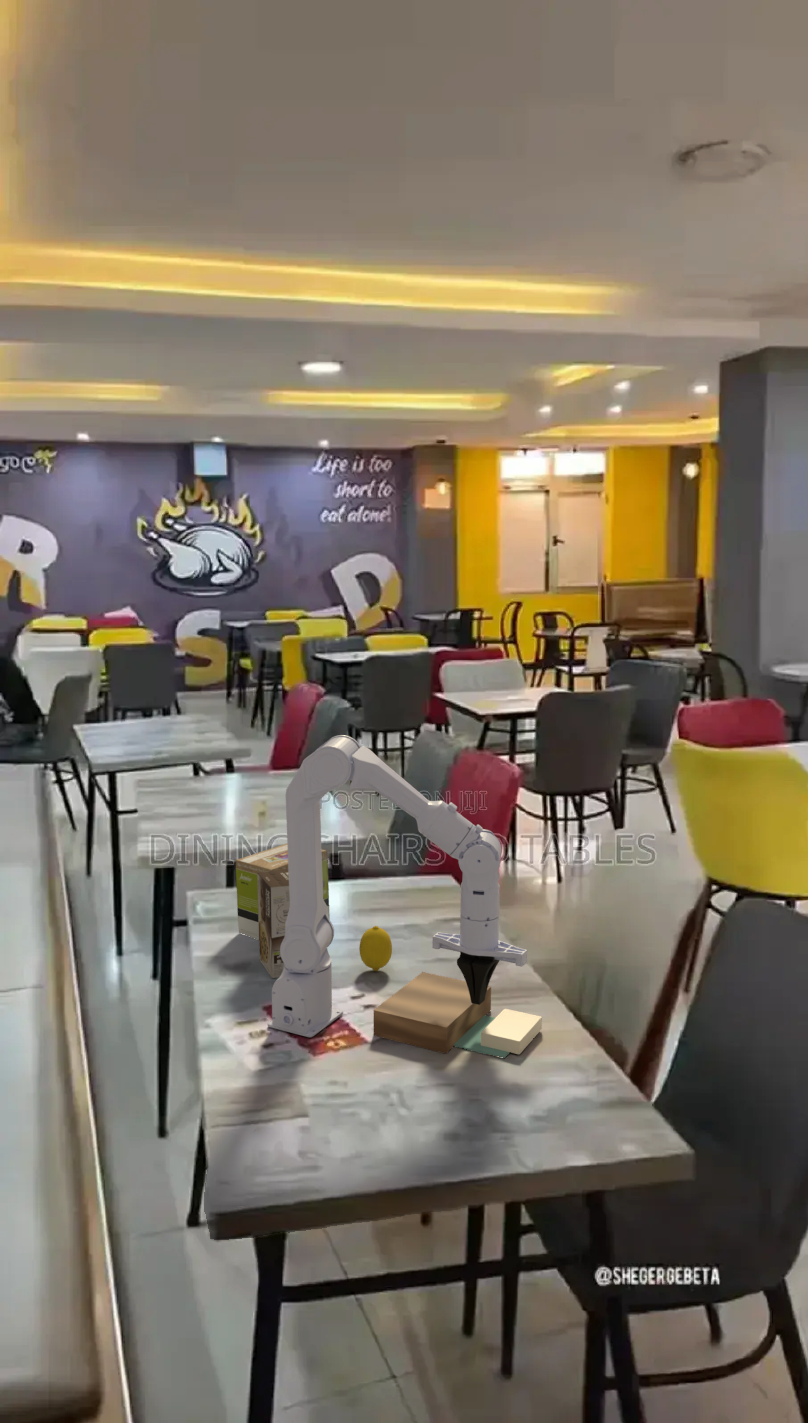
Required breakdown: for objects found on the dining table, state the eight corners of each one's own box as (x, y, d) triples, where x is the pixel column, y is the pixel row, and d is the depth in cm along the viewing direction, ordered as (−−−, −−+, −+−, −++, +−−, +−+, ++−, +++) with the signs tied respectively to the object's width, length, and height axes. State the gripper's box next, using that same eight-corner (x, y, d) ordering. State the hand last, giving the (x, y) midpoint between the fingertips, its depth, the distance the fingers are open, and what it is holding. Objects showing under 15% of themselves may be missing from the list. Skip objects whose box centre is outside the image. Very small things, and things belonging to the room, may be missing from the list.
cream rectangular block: (480, 1032, 156) (480, 1045, 157) (519, 1041, 154) (519, 1054, 154) (504, 1008, 164) (504, 1020, 165) (541, 1016, 161) (541, 1029, 162)
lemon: (378, 980, 180) (378, 934, 179) (353, 971, 183) (352, 927, 182) (398, 969, 184) (398, 925, 183) (373, 961, 188) (373, 918, 186)
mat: (504, 1058, 153) (504, 1056, 153) (453, 1046, 157) (453, 1044, 157) (532, 1028, 163) (532, 1026, 163) (484, 1016, 167) (484, 1014, 167)
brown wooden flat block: (446, 1053, 155) (446, 1027, 154) (373, 1035, 160) (373, 1009, 160) (490, 1010, 169) (491, 986, 168) (422, 995, 174) (422, 971, 174)
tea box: (293, 912, 212) (292, 839, 210) (330, 924, 206) (330, 849, 204) (236, 934, 201) (234, 857, 198) (273, 947, 195) (272, 868, 192)
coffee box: (308, 973, 183) (307, 882, 180) (271, 979, 180) (269, 886, 178) (293, 954, 191) (292, 866, 188) (258, 959, 189) (256, 870, 186)
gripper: (535, 914, 159) (533, 1001, 161) (447, 898, 165) (446, 981, 168) (517, 929, 153) (515, 1019, 155) (426, 912, 159) (425, 998, 162)
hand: (478, 1001), depth 161 cm, fingers closed
